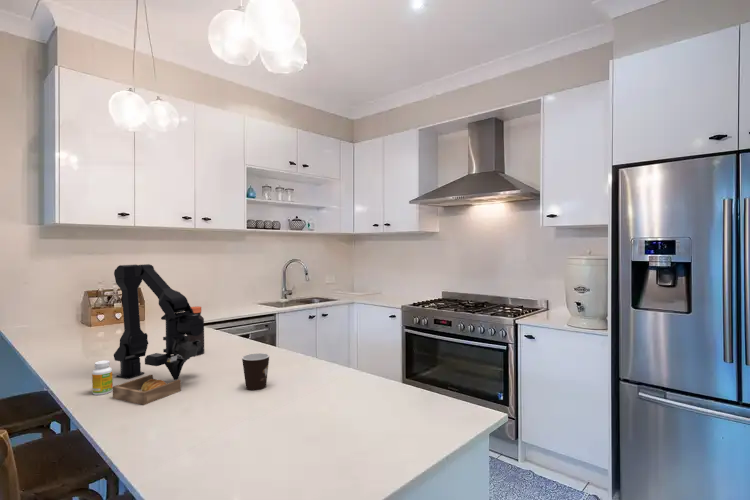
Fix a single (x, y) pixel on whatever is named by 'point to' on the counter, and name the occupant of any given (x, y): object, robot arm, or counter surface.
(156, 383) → the pastry
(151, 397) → the box
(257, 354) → the coffee mug
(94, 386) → the supplement bottle
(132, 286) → the robot arm
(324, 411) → the counter surface
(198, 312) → the vinegar
